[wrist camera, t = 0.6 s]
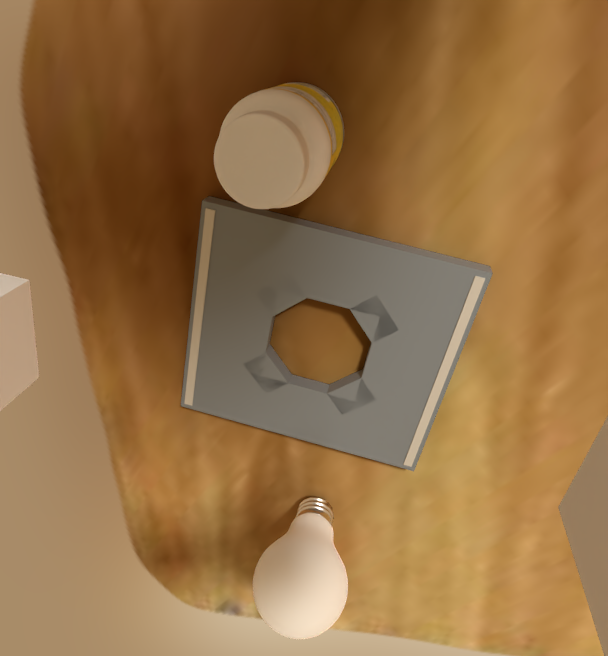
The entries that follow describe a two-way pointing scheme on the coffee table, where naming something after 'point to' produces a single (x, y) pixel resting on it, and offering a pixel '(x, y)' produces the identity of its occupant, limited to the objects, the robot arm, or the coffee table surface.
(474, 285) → the socket board
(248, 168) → the supplement bottle
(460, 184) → the coffee table surface
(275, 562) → the light bulb
